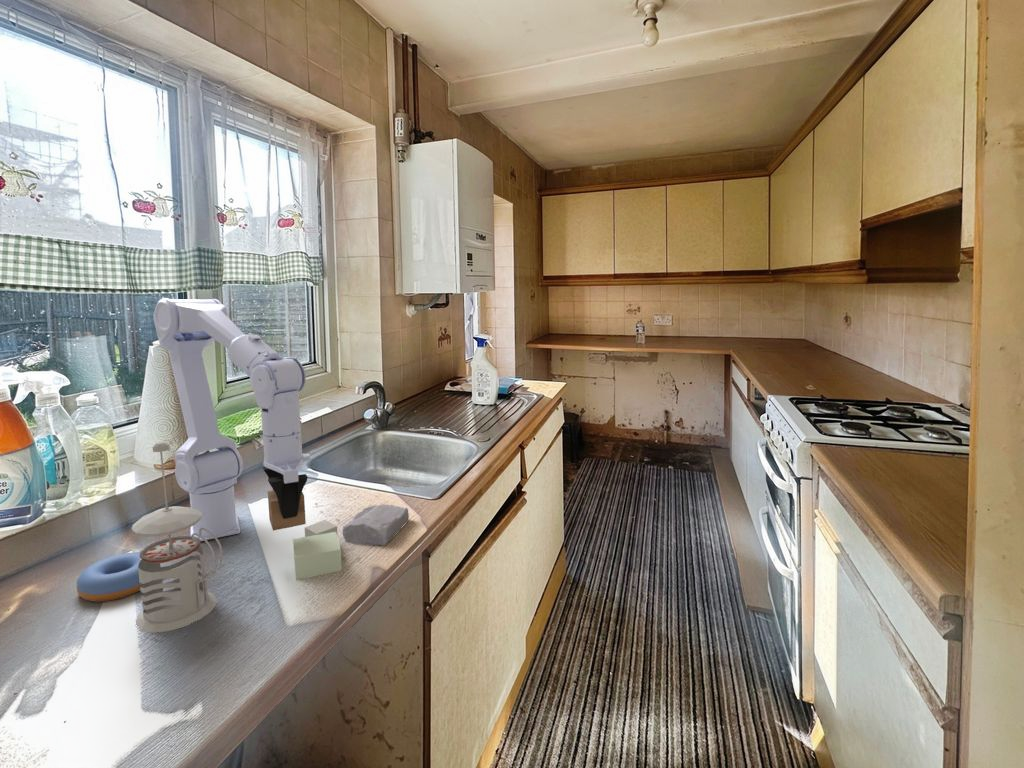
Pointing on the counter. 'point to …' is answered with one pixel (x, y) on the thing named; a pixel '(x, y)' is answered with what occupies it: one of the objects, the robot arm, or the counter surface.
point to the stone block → (375, 525)
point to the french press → (189, 591)
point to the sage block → (317, 555)
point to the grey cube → (320, 528)
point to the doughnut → (110, 578)
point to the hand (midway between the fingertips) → (287, 510)
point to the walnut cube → (277, 517)
